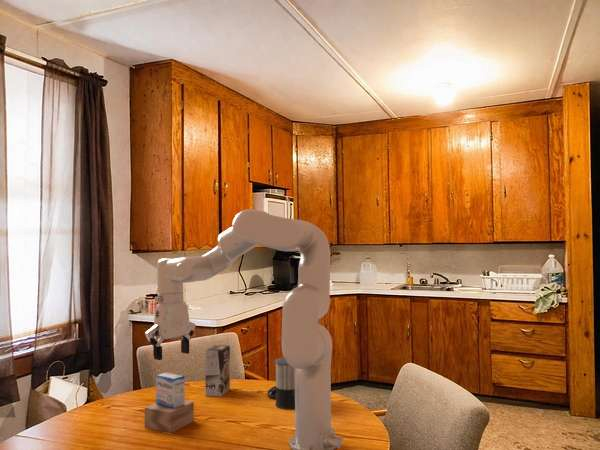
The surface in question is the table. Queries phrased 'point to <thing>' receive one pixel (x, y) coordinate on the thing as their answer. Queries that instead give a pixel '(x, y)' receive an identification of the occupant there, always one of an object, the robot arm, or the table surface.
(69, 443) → the table surface
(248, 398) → the table surface
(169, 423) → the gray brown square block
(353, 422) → the table surface
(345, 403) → the table surface
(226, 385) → the coffee box
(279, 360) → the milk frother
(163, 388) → the medicine box
